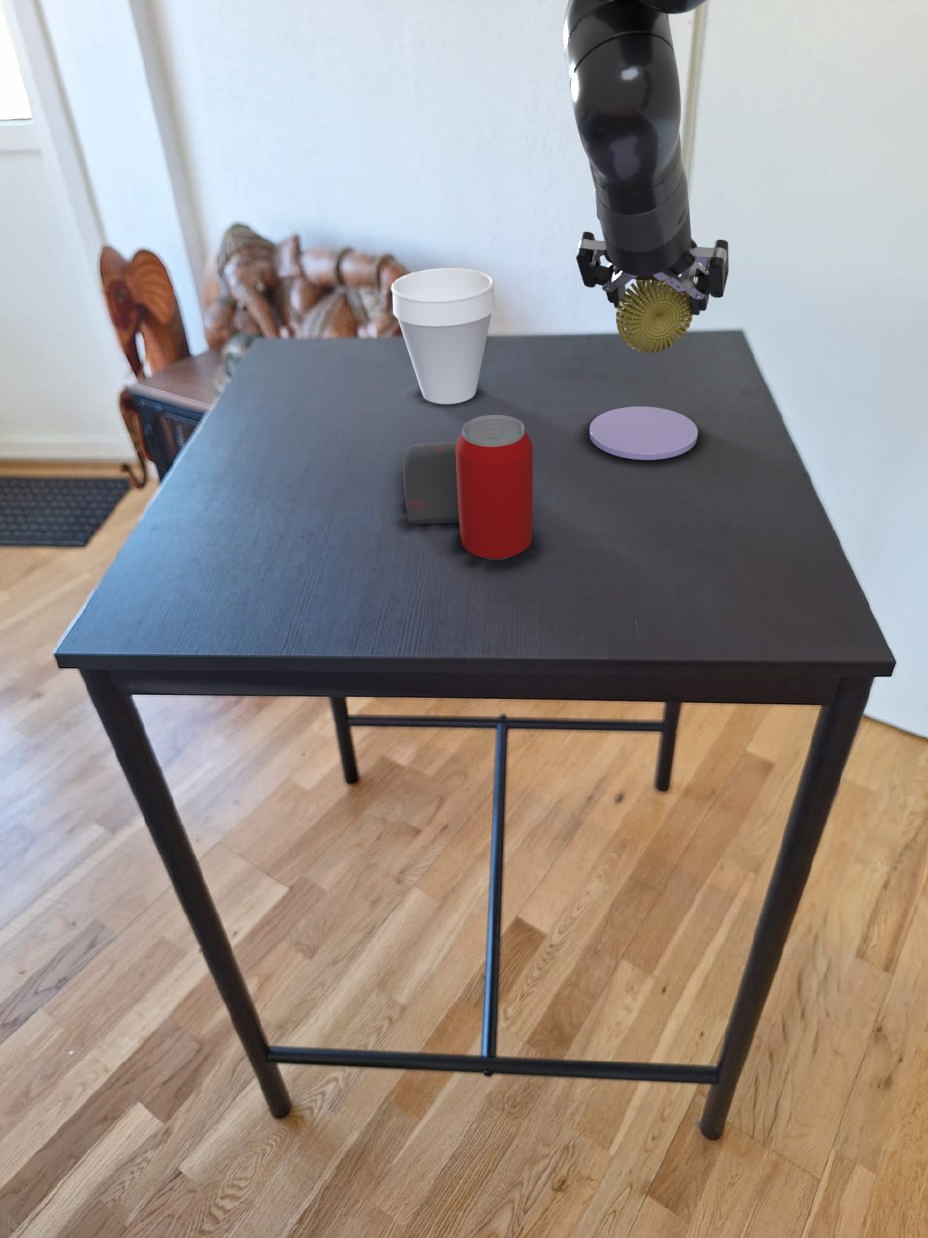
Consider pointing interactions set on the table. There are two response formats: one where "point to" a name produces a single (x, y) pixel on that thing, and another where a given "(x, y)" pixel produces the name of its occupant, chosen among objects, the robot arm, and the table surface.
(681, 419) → the saucer
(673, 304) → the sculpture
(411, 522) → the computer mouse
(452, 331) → the cup
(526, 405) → the table surface
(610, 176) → the robot arm
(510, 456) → the beverage can
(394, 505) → the table surface
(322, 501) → the table surface
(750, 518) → the table surface
